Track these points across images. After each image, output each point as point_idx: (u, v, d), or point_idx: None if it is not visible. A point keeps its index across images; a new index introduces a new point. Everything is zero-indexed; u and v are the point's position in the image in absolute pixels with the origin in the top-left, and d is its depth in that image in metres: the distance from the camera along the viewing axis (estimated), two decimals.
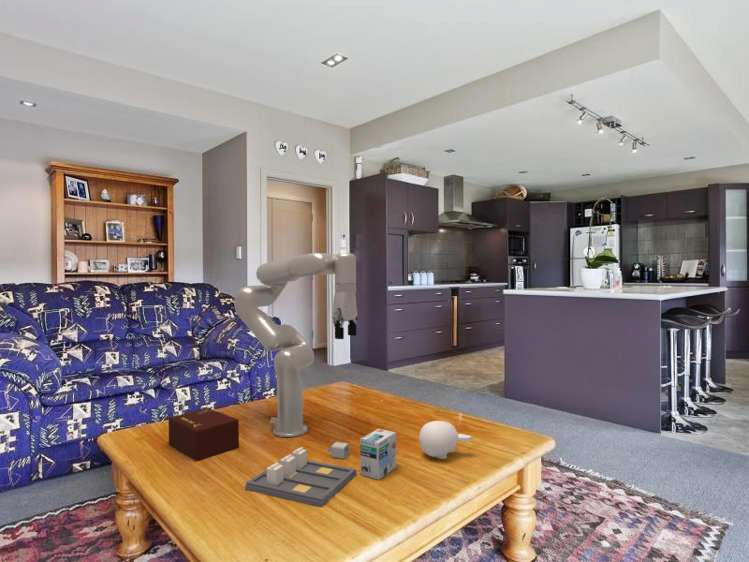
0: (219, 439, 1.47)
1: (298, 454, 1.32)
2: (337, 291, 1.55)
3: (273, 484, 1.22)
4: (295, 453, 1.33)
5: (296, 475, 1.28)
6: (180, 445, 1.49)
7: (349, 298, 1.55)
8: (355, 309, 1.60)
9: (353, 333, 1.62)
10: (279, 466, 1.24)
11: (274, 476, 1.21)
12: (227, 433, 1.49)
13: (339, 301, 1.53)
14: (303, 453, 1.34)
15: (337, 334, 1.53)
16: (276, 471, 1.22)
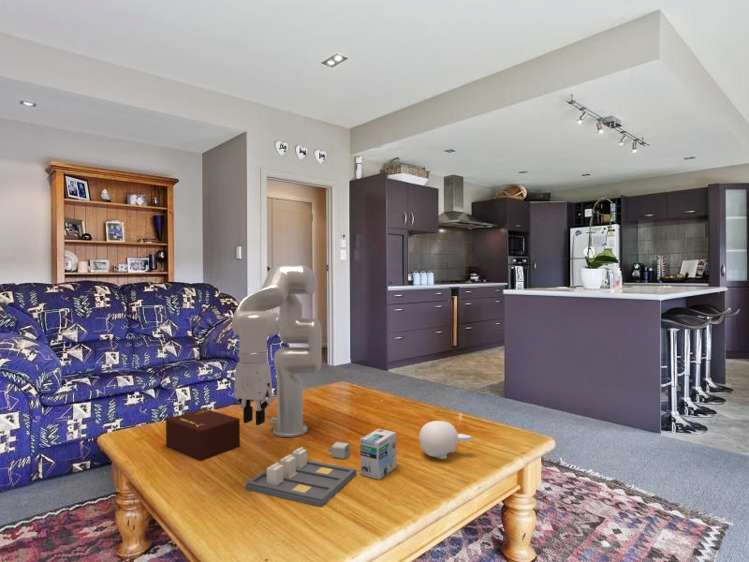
0: (222, 438, 1.48)
1: (298, 454, 1.32)
2: (260, 362, 1.23)
3: (273, 484, 1.22)
4: (295, 453, 1.33)
5: (296, 475, 1.28)
6: (180, 446, 1.48)
7: None
8: None
9: (251, 418, 1.28)
10: (279, 466, 1.24)
11: (274, 476, 1.21)
12: (229, 432, 1.50)
13: (268, 374, 1.24)
14: (303, 453, 1.34)
15: (262, 418, 1.25)
16: (276, 471, 1.22)
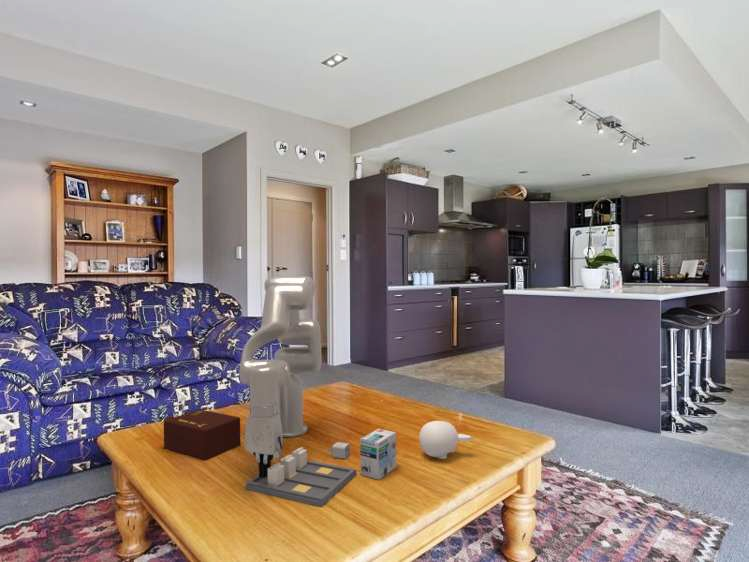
0: (224, 437, 1.49)
1: (298, 454, 1.32)
2: (271, 416, 1.22)
3: (274, 484, 1.21)
4: (295, 453, 1.33)
5: (296, 475, 1.28)
6: (181, 446, 1.48)
7: None
8: None
9: None
10: (280, 466, 1.23)
11: (275, 476, 1.21)
12: (231, 431, 1.51)
13: (278, 427, 1.23)
14: (303, 453, 1.34)
15: None
16: (277, 471, 1.21)
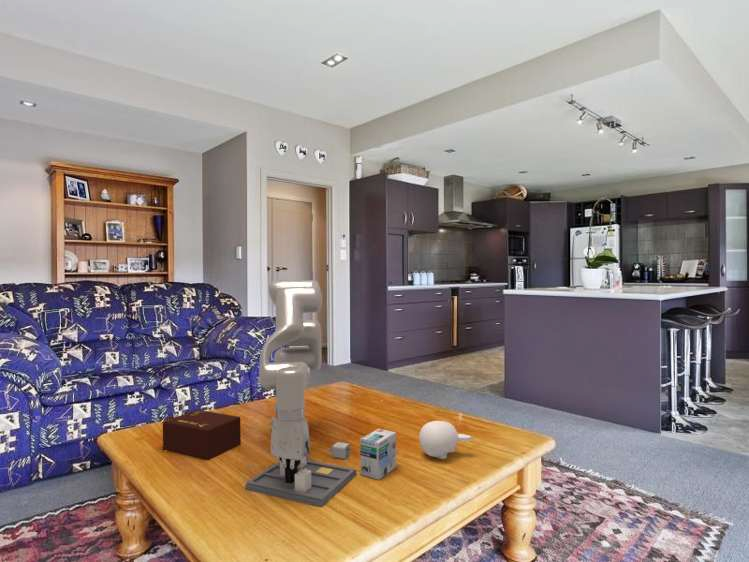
0: (225, 437, 1.49)
1: None
2: (298, 420, 1.18)
3: (301, 490, 1.18)
4: None
5: None
6: (182, 447, 1.47)
7: None
8: None
9: None
10: (307, 472, 1.20)
11: (302, 482, 1.18)
12: (232, 430, 1.52)
13: (306, 431, 1.19)
14: None
15: None
16: (304, 477, 1.18)
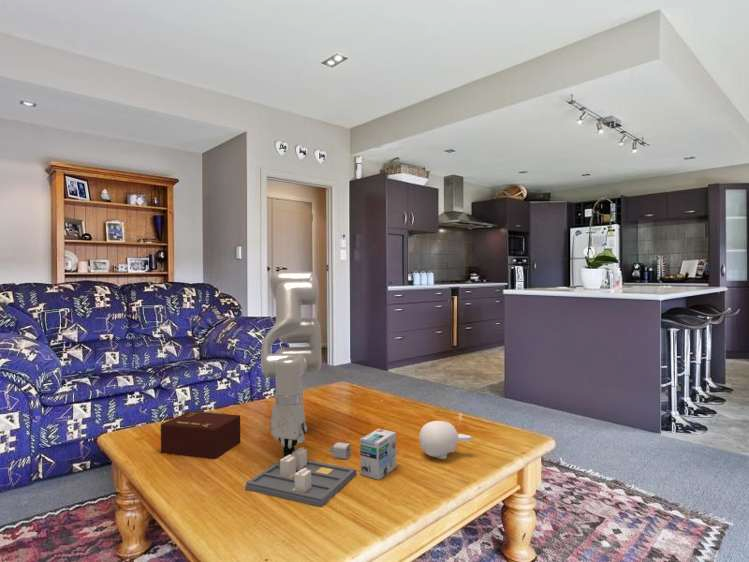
0: (229, 435, 1.51)
1: (298, 454, 1.32)
2: (295, 404, 1.33)
3: (301, 490, 1.18)
4: (295, 453, 1.33)
5: None
6: (184, 448, 1.46)
7: None
8: None
9: None
10: (307, 472, 1.20)
11: (302, 482, 1.18)
12: (233, 429, 1.53)
13: (302, 414, 1.34)
14: (303, 453, 1.34)
15: None
16: (304, 477, 1.18)
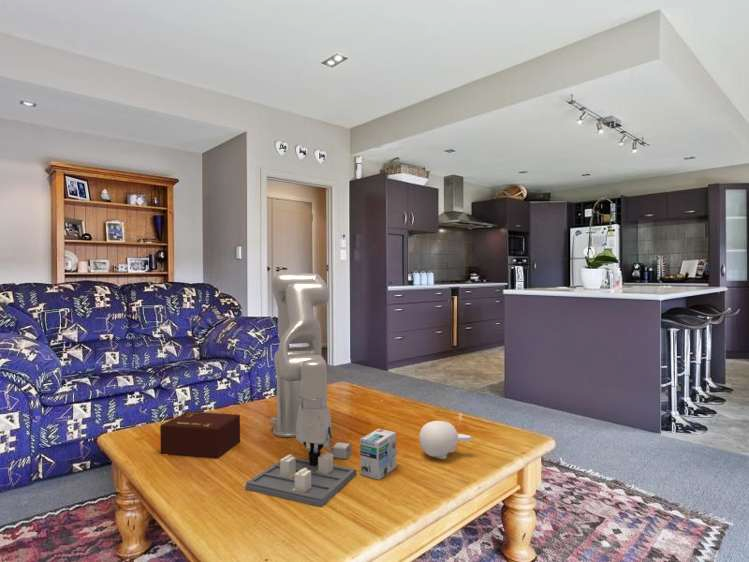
0: (230, 435, 1.51)
1: (325, 459, 1.29)
2: (321, 407, 1.29)
3: (301, 490, 1.18)
4: (321, 458, 1.29)
5: None
6: (185, 449, 1.46)
7: None
8: None
9: None
10: (307, 472, 1.20)
11: (302, 482, 1.18)
12: (234, 428, 1.54)
13: (328, 418, 1.30)
14: (330, 458, 1.30)
15: None
16: (304, 477, 1.18)
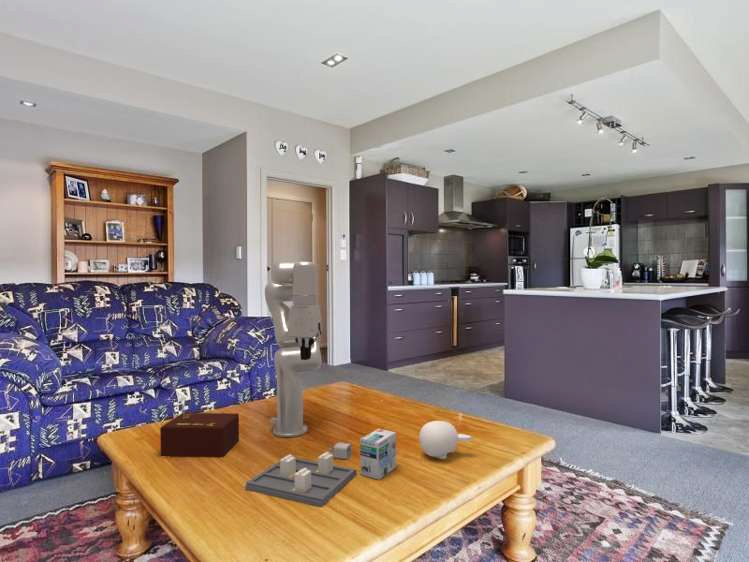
0: (231, 433, 1.52)
1: (325, 459, 1.29)
2: (312, 304, 1.38)
3: (301, 490, 1.18)
4: (321, 458, 1.29)
5: None
6: (188, 449, 1.45)
7: None
8: None
9: None
10: (307, 472, 1.20)
11: (302, 482, 1.18)
12: (234, 427, 1.55)
13: (318, 315, 1.39)
14: (329, 458, 1.30)
15: (309, 354, 1.40)
16: (304, 477, 1.18)
